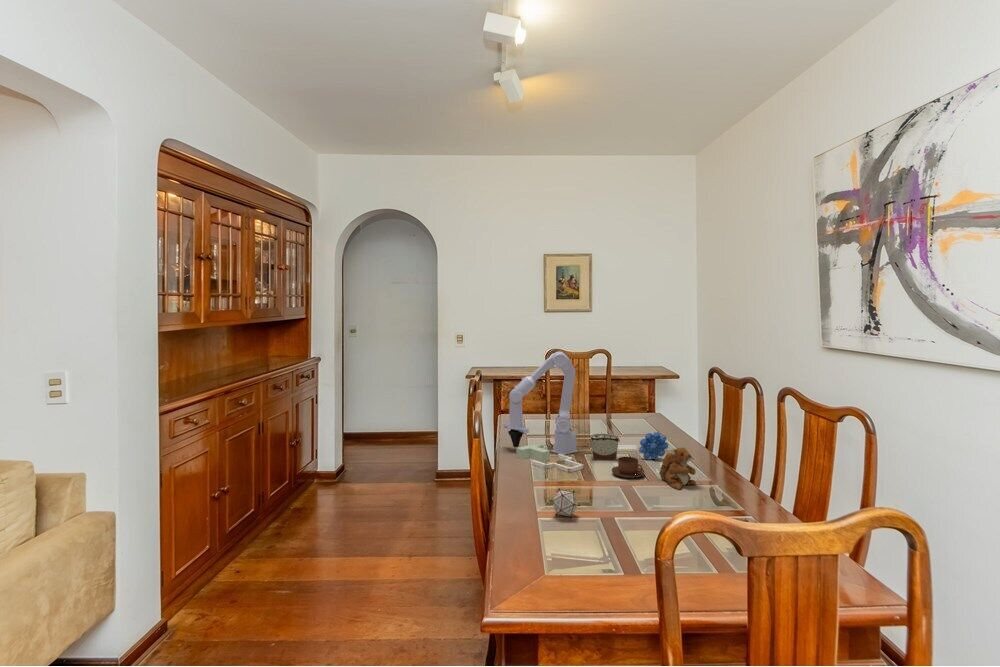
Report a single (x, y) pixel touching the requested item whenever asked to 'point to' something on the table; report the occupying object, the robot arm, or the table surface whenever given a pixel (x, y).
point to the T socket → (566, 461)
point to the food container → (604, 447)
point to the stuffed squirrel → (677, 468)
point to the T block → (533, 452)
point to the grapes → (653, 445)
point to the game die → (565, 503)
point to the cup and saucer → (628, 468)
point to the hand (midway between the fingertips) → (515, 446)
